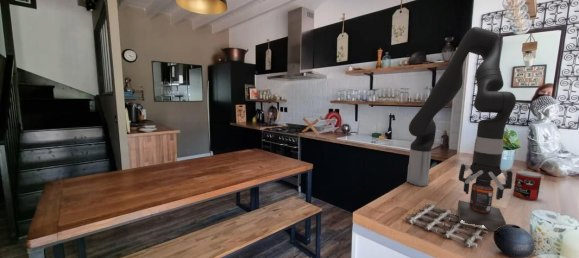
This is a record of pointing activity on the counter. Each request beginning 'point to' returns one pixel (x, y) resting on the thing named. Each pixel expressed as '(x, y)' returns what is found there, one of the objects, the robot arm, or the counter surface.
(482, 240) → the counter surface
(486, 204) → the supplement bottle
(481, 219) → the riser
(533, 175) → the canned food
